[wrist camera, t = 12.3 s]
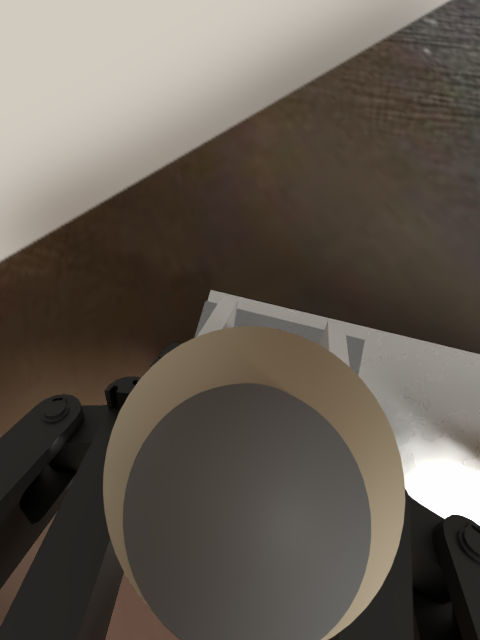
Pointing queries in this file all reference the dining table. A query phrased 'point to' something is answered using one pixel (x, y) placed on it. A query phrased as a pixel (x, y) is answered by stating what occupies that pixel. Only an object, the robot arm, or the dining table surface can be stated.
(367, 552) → the birch leg peg
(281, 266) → the dining table surface
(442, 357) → the bolt plate
